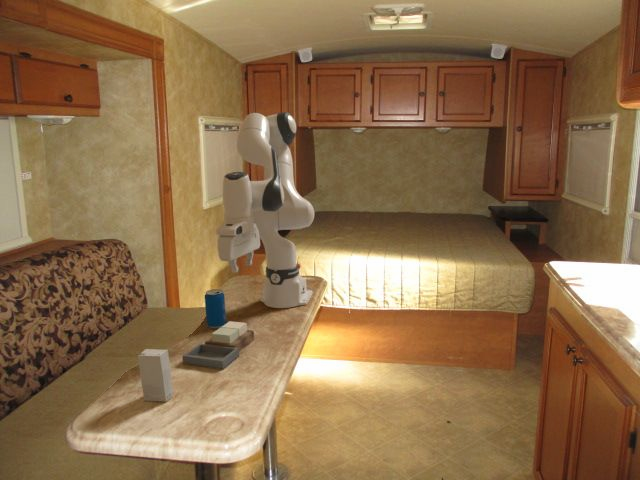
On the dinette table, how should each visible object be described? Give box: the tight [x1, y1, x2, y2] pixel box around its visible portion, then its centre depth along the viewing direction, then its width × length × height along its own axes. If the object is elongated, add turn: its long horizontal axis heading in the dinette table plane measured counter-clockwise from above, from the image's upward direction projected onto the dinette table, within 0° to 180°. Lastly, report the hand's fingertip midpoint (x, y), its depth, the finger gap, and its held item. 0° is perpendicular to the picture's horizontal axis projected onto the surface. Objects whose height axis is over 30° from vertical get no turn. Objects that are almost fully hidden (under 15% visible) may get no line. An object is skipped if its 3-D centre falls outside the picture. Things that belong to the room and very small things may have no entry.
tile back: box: [221, 320, 248, 337], centre depth 160 cm, size 5×6×2 cm
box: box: [181, 343, 240, 371], centre depth 148 cm, size 9×13×2 cm
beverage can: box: [204, 288, 227, 329], centre depth 174 cm, size 6×6×12 cm
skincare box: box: [137, 348, 174, 403], centre depth 127 cm, size 6×4×12 cm
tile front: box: [211, 328, 238, 344], centre depth 155 cm, size 5×6×2 cm
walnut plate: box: [204, 329, 255, 353], centre depth 158 cm, size 12×10×3 cm
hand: (242, 268), depth 164 cm, fingers open, 7 cm apart
